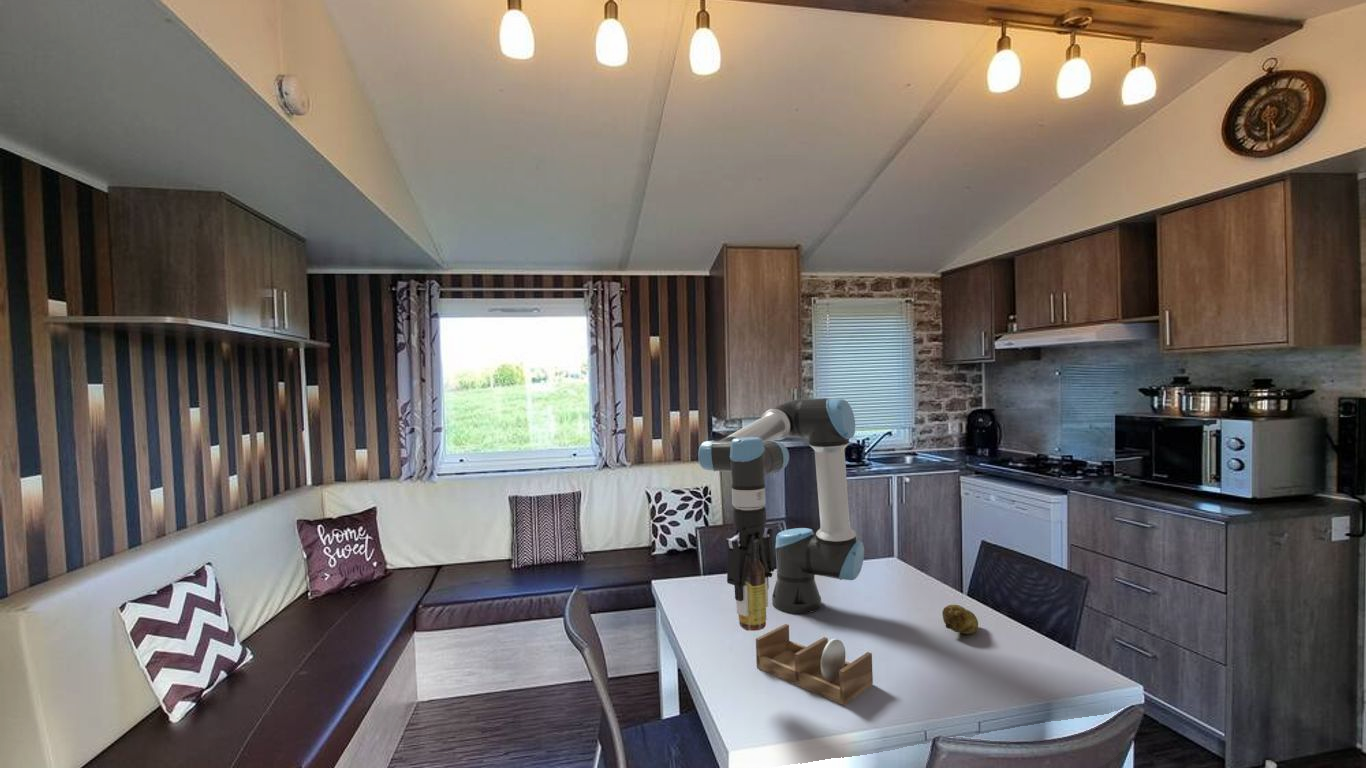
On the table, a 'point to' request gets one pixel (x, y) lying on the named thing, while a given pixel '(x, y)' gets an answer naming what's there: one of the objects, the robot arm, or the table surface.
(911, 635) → the table surface
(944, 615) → the potato
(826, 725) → the table surface
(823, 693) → the dish rack
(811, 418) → the robot arm
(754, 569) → the sauce bottle
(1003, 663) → the table surface
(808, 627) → the table surface
